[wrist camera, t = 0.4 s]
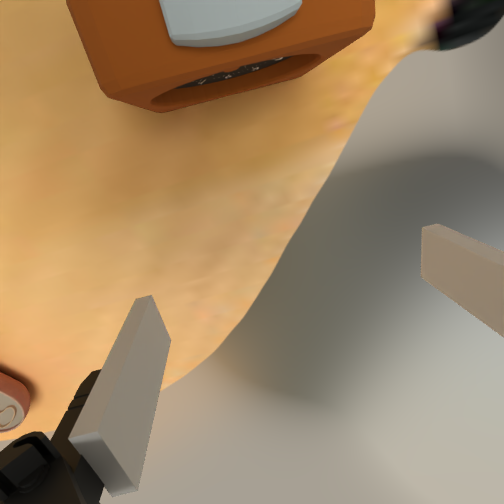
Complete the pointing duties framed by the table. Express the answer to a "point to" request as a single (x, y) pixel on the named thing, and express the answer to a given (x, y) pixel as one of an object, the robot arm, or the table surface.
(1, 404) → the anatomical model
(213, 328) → the table surface
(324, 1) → the alarm clock
